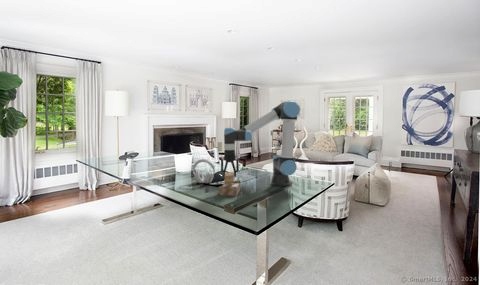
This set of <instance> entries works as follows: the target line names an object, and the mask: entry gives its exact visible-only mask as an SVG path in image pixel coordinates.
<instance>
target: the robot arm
mask: <svg viewBox="0 0 480 285" xmlns="http://www.w3.org/2000/svg"><path fill="white" fill-rule="evenodd" d="M300 112H301V108H300V105H299V104H298V102H295V100H288V101H282V102H281V103H280V104H279V103H278V105H277V106H275V107H273V108H271V110H270V111H269V112H267V113H266V114H264V115H262V116H260V117H259V118H257V119H255V120H254V121H252V122H250V123H249V124H247V125H245V126H243V127H241V128H239V129H235V127H225V128H224V132H223V137H224V138H223V139H224V140H223V141H224V144H223V147H224V153H223V154H224V155H223V157H220V172H222V173H223V177H224V176H225V175H226V174H227V173H228V172H227V168H228V164H229V163H231V166H232V170H233V172H234V173H233V182H235V180H236V177H237V173H238V172H240V171H239V170H240V169H239V168H240V167H239V160H240V158H239V157H236V150H235V149H236V146H235V145H236V142H250V141H251V140H252V138H253V137H252V134H253V133H255V132H258V131H259V130H261V129H263V128H265V127H266V126H267V125H270V124H271V123H273V122H275V121H278V120H281V122H282V131H281V132H282V134H281V152H280V155H273V157H272V171H273V172H272V173H273V174H272V176H271V180H270V184H271V186H272V185H273V186H276V187H288V186H289V185H291V181H290V177H289V176H291V175H294V174H295V173H296V170H297V167H298V166H297V163H296V157H295V155H294V142H295V141H294V140H295V124H296V122H297V121H298V115H300ZM224 161H225V165H224ZM235 161H236V163H235Z"/></svg>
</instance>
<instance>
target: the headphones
mask: <svg viewBox="0 0 480 285" xmlns="http://www.w3.org/2000/svg"><path fill="white" fill-rule="evenodd" d="M200 163H206V164H208V165H209V166H210V167H211V169H212V170H213V172H212V171H207V172H206V174H205V176H204V174H203V172H201V171H200V170H198V171H196V172H195V169H196V167H197V165H199V164H200ZM192 173H193V176H194V180H195V182H196V183H198V184H202V183H204V184H210V183H212V181H213V179H214V176H215V173H216V169H215V165H214V164H213V162H212V161H210V160H209V159H205V158H202V159H198V160H197V161H196V162H194V164H193V166H192Z"/></svg>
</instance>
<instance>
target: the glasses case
mask: <svg viewBox="0 0 480 285" xmlns="http://www.w3.org/2000/svg"><path fill="white" fill-rule="evenodd" d="M233 173H234V171H228V172H227V174H226V175H225V176H224V175H223V177H224V180H225V181H224V183H225V185H232V183H233Z"/></svg>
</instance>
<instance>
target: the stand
mask: <svg viewBox="0 0 480 285" xmlns="http://www.w3.org/2000/svg"><path fill="white" fill-rule="evenodd" d="M223 181H224V182H223V184H222V185H220V186H219V187H218V193H219V194H218V196H228V197H229V196H233V197H234V196H237V195H238V194H239V192H240V191H241V180H239V179H238V180H237V179H235V182H233V183H232V185H225V179H224V180H223Z"/></svg>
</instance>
